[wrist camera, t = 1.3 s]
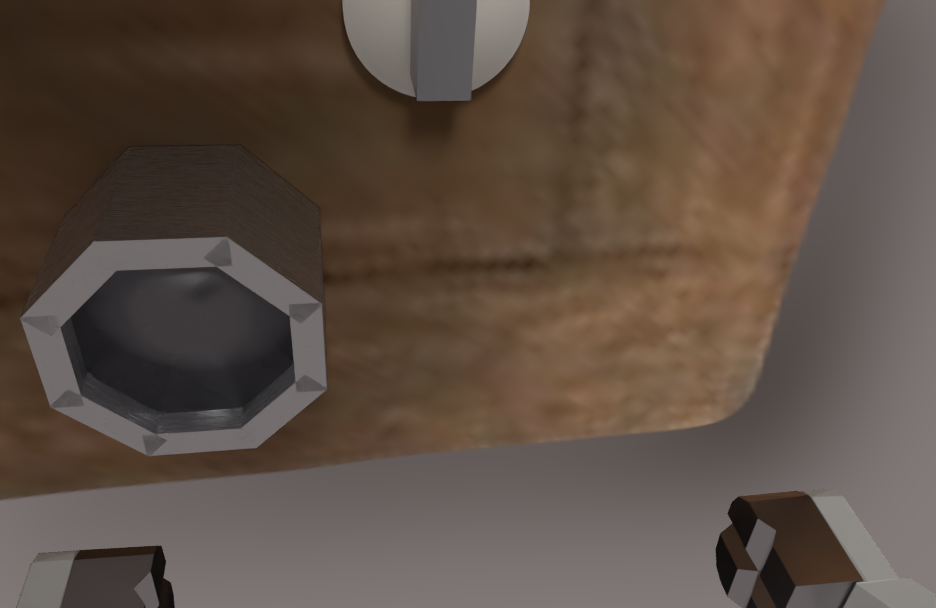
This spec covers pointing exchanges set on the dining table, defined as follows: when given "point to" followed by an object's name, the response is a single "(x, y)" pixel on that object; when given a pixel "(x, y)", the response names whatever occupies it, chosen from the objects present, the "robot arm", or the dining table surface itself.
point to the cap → (435, 42)
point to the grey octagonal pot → (183, 303)
